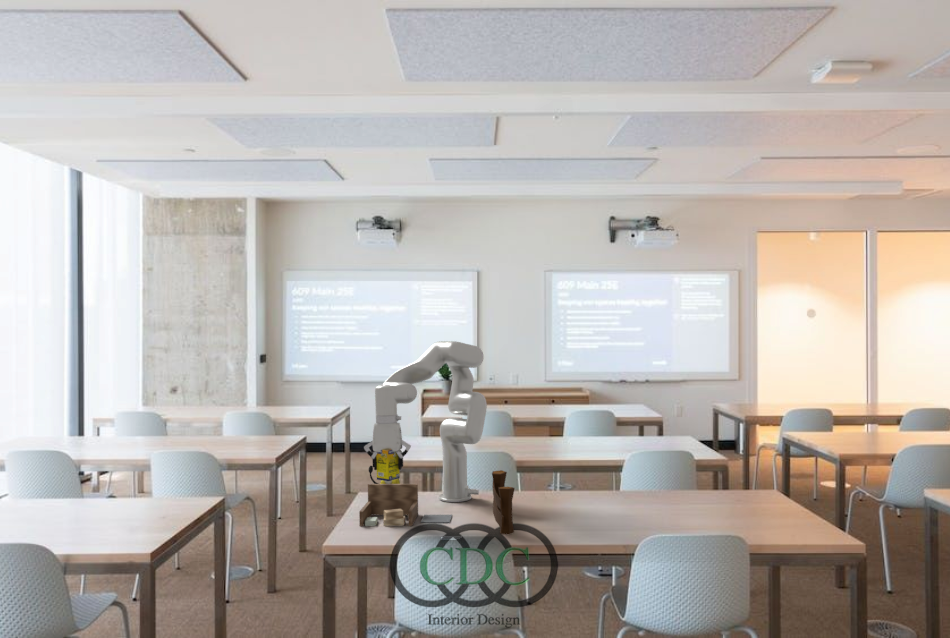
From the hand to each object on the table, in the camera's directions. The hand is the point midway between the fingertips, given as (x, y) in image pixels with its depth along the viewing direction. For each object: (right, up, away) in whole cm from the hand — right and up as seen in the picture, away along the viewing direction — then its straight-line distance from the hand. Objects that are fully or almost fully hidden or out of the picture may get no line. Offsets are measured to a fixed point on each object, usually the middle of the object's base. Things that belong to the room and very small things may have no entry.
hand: (388, 468), depth 266 cm
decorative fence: (+40, -17, -7) cm, 45 cm away
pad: (+17, -17, -2) cm, 25 cm away
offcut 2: (+3, -15, -8) cm, 17 cm away
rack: (+1, -18, -2) cm, 18 cm away
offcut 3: (+3, -18, -8) cm, 20 cm away
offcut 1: (-5, -18, -7) cm, 20 cm away
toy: (-3, -18, +24) cm, 30 cm away
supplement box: (0, -4, 0) cm, 4 cm away
